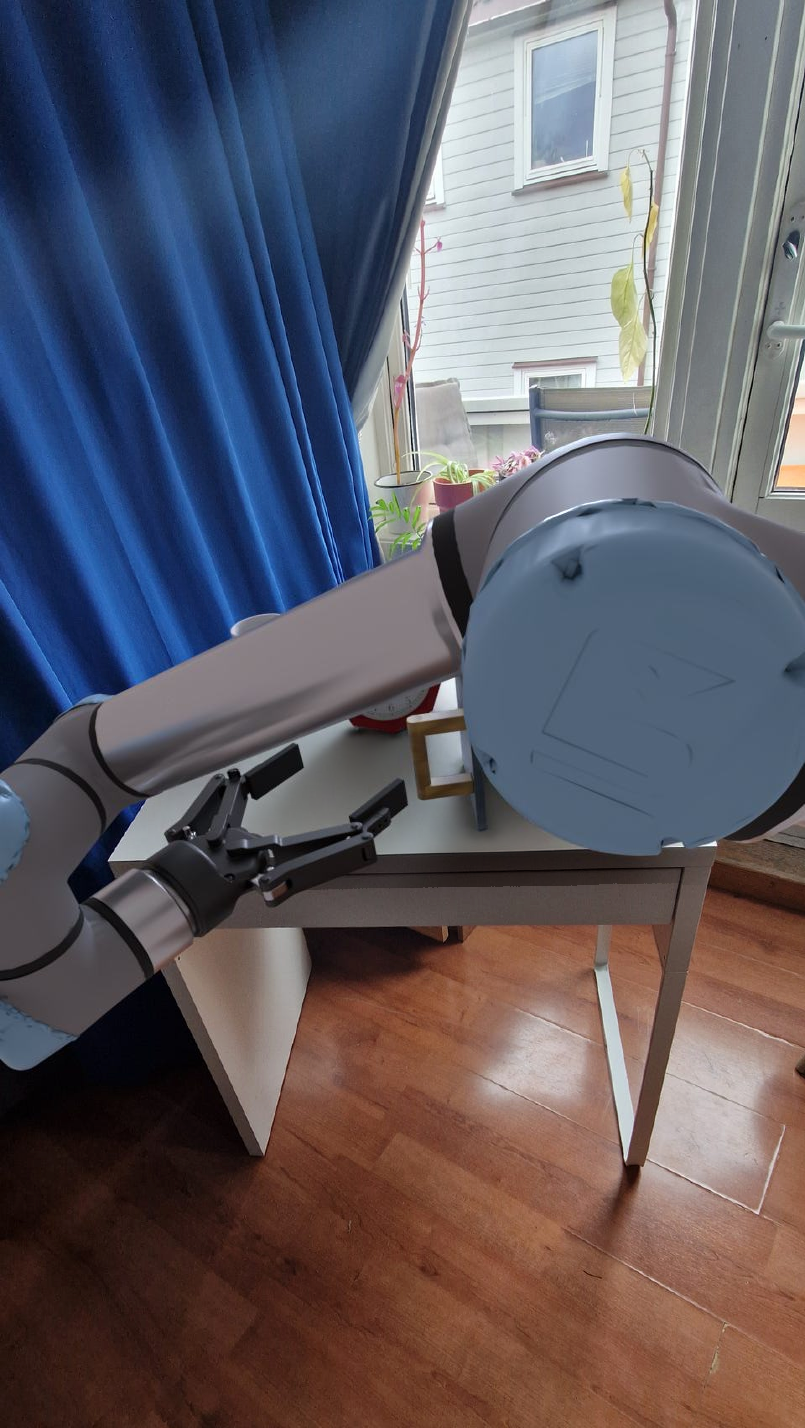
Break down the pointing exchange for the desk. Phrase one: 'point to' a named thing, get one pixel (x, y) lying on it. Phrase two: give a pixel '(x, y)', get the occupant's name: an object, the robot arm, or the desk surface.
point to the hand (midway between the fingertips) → (348, 772)
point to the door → (473, 769)
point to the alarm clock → (396, 708)
